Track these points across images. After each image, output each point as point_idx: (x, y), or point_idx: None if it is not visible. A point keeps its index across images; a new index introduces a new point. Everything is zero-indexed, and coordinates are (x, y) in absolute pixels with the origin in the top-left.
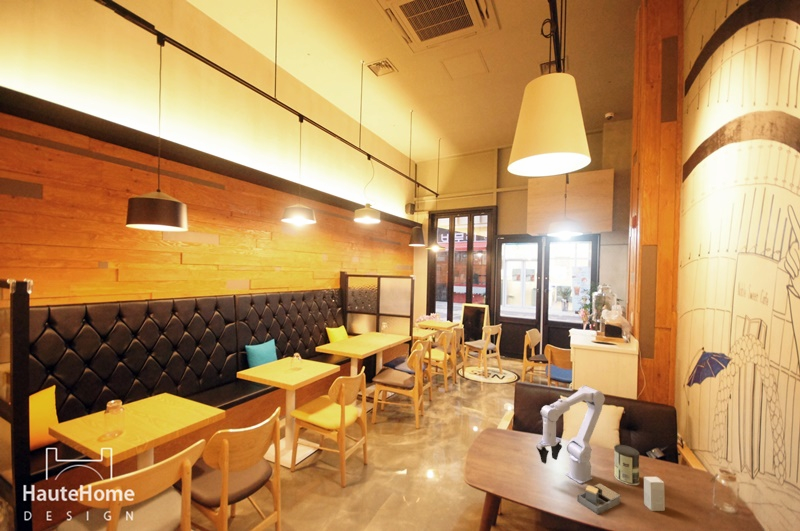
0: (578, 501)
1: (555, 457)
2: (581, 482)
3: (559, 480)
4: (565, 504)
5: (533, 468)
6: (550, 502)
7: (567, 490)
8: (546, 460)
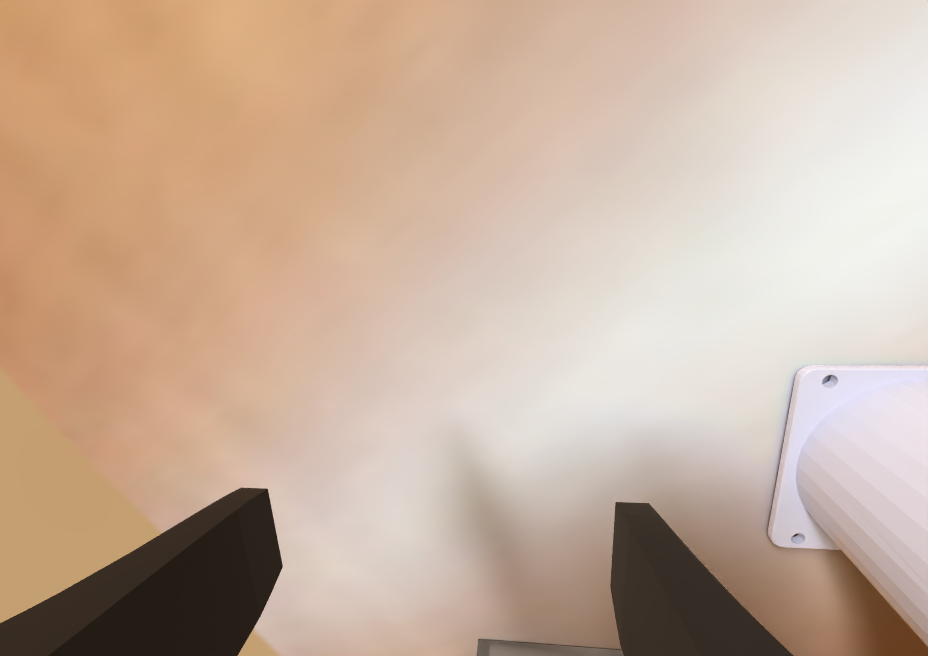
0: (477, 649)
1: (621, 627)
2: (792, 546)
3: (614, 397)
4: (349, 613)
5: (531, 57)
6: None
7: (532, 528)
8: (235, 651)
